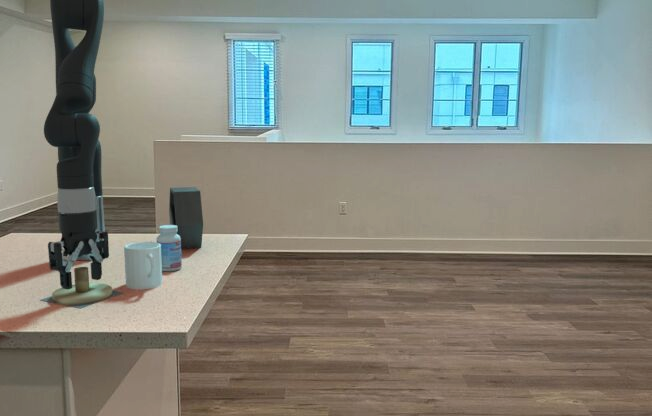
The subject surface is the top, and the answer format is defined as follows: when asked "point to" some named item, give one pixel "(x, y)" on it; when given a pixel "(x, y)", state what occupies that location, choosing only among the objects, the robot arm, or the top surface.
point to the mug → (143, 265)
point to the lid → (82, 290)
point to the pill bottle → (170, 248)
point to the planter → (187, 215)
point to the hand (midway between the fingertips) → (82, 283)
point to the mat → (49, 299)
